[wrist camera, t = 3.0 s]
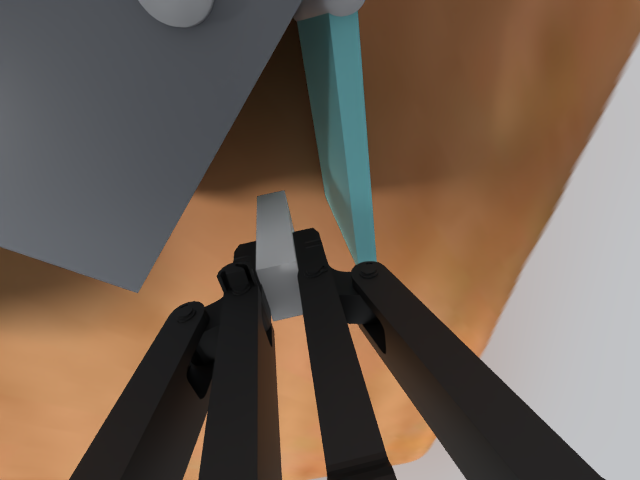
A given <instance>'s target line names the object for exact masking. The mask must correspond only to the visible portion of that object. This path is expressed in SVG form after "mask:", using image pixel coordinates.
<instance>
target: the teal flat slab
mask: <svg viewBox="0 0 640 480" xmlns="http://www.w3.org/2000/svg"><path fill="white" fill-rule="evenodd" d="M364 2H365V0H302V2H301V3H300V5H299V7H298V9H297V11H296V12H295V14H294V16H293V18H294V19H295V20H296V21H297V25H298V32H299V38H300V44H301V50H302V56H303V62H304V68H305V74H306V81H307V87H308V93H309V99H310V105H311V111H312V117H313V123H314V130H315V136H316V142H317V148H318V154H319V160H320V166H321V172H322V179H323V185H324V191H325V197H326V199H327V201H328V203H329V206H330V208H331V210H332V212H333V215H334V217H335V219H336V221H337V224H338V226H339V228H340V230H341V233H342V235H343V237H344V239H345V241H346V244H347V246H348V248H349V250H350V253H351V255H352V257H353V259H354V262H355V264H356V265H357V264H359V263H361V262H365V261H375V262H377V261H376V247H375V234H374V221H373V207H372V194H371V181H370V167H369V154H368V141H367V127H366V114H365V101H364V87H363V74H362V60H361V47H360V34H359V20H358V10H359V9H360V8H361V6H362V5H363V4H364Z"/></svg>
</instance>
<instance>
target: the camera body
mask: <svg viewBox="0 0 640 480" xmlns="http://www.w3.org/2000/svg"><path fill="white" fill-rule="evenodd" d="M301 2H302V0H0V247H2V248H5V249H8V250H11V251H14V252H17V253H20V254H23V255H26V256H29V257H32V258H35V259H38V260H41V261H44V262H47V263H50V264H53V265H56V266H59V267H62V268H65V269H68V270H71V271H74V272H76V273H79V274H82V275H85V276H88V277H91V278H94V279H97V280H100V281H103V282H106V283H109V284H112V285H115V286H118V287H121V288H124V289H127V290H130V291H133V292H136V293H138V292H139V290H140V288H141V287H142V285H143V283H144V281H145V279H146V278H147V276H148V274H149V272H150V271H151V269H152V267H153V265H154V263H155V262H156V260H157V258H158V256H159V255H160V253H161V251H162V249H163V247H164V246H165V244H166V242H167V240H168V238H169V237H170V235H171V233H172V231H173V230H174V228H175V226H176V224H177V222H178V221H179V219H180V217H181V215H182V214H183V212H184V210H185V208H186V206H187V205H188V203H189V201H190V199H191V198H192V196H193V194H194V192H195V190H196V189H197V187H198V185H199V183H200V182H201V180H202V178H203V176H204V174H205V173H206V171H207V169H208V167H209V165H210V164H211V162H212V160H213V158H214V157H215V155H216V153H217V151H218V149H219V148H220V146H221V144H222V142H223V141H224V139H225V137H226V135H227V133H228V132H229V130H230V128H231V126H232V125H233V123H234V121H235V119H236V117H237V116H238V114H239V112H240V110H241V109H242V107H243V105H244V103H245V101H246V100H247V98H248V96H249V94H250V92H251V91H252V89H253V87H254V85H255V84H256V82H257V80H258V78H259V76H260V75H261V73H262V71H263V69H264V68H265V66H266V64H267V62H268V60H269V59H270V57H271V55H272V53H273V52H274V50H275V48H276V46H277V44H278V43H279V41H280V39H281V37H282V35H283V34H284V32H285V30H286V28H287V27H288V25H289V23H290V21H291V19H292V18H293V16H294V14H295V12H296V11H297V9H298V7H299V5H300V3H301Z"/></svg>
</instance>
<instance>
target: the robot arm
mask: <svg viewBox="0 0 640 480" xmlns="http://www.w3.org/2000/svg"><path fill="white" fill-rule="evenodd" d="M217 278H218V281H219V283H220V285H221V287H222V290H223V292H224V296H223V297H222V298H221V299H220V300H218V301H216V302H214V303H212V304H210V305H208V306H206V307H204V305H203V304H202V303H200V302H195V301H193V302H188V303H185V304H183V305H180V306H179V307H178V308H176V309H175V310H174V311H173V312H172V313H171V314H170V315H169V317H168V319H167V320H166V322H165V324H164V325H163V327H162V328H161V330H160V332H159V333H158V335H157V337H156V338H155V340H154V342H153V343H152V345H151V346H150V348H149V350H148V351H147V353H146V355H145V356H144V358H143V360H142V361H141V363H140V364H139V366H138V368H137V369H136V371H135V373H134V374H133V376H132V378H131V379H130V381H129V382H128V384H127V386H126V387H125V389H124V391H123V392H122V394H121V396H120V397H119V399H118V400H117V402H116V404H115V405H114V407H113V409H112V410H111V412H110V414H109V415H108V417H107V418H106V420H105V422H104V423H103V425H102V427H101V428H100V430H99V432H98V433H97V435H96V436H95V438H94V440H93V441H92V443H91V445H90V446H89V448H88V450H87V451H86V453H85V454H84V456H83V458H82V459H81V461H80V463H79V464H78V466H77V468H76V469H75V471H74V472H73V474H72V476H71V477H70V479H69V480H183V477H184V474H185V472H186V469H187V466H188V463H189V461H190V458H191V455H192V452H193V450H194V447H195V444H196V442H197V439H198V436H199V433H200V431H201V428H202V425H203V422H204V420H205V417H206V414H207V421H206V428H205V435H204V443H203V450H202V457H201V465H200V472H199V480H282V472H281V453H280V434H279V415H278V396H277V376H276V357H275V338H274V329H273V326H272V323H271V316H272V319H273V321H277V320H281V319H286V318H290V317H294V316H299V315H303V317H304V324H305V330H306V337H307V344H308V350H309V357H310V363H311V370H312V377H313V383H314V390H315V397H316V403H317V410H318V416H319V423H320V430H321V436H322V443H323V449H324V456H325V463H326V470H327V480H397V479H396V476H395V473H394V470H393V468H392V465H391V464H390V462H389V460H388V457H387V454H386V451H385V448H384V444H383V441H382V438H381V434H380V431H379V428H378V424H377V421H376V418H375V414H374V411H373V408H372V404H371V401H370V398H369V394H368V391H367V388H366V384H365V381H364V378H363V374H362V371H361V368H360V364H359V361H358V358H357V354H356V351H355V348H354V344H353V341H352V338H351V334H350V331H349V328H348V324H347V323H349V324H358V325H359V328H360V329H361V330H362V332H363V333H364V335H365V336H366V338H367V339H368V340H369V342H370V343H371V345H372V346H373V347H374V349H375V350H376V352H377V353H378V355H379V356H380V357H381V359H382V360H383V362H384V363H385V364H386V366H387V367H388V369H389V370H390V372H391V373H392V374H393V376H394V377H395V379H396V380H397V381H398V383H399V384H400V386H401V387H402V389H403V390H404V391H405V393H406V394H407V396H408V397H409V398H410V400H411V401H412V403H413V404H414V406H415V407H416V408H417V410H418V411H419V413H420V414H421V415H422V417H423V418H424V420H425V421H426V423H427V424H428V425H429V427H430V428H431V430H432V431H433V433H434V434H435V435H436V437H437V438H438V440H439V441H440V442H441V444H442V445H443V447H444V448H445V450H446V451H447V452H448V454H449V455H450V457H451V458H452V459H453V461H454V462H455V464H456V465H457V466H458V468H459V469H460V471H461V472H462V474H463V475H464V476H465V478H466V479H467V480H605V479H604V478H602V477H601V476H600V475H599V474H598V473H597V472H596V471H594V469H592V468H591V467H590V466H589V465H588V464H587V463H586V462H585V461H584V460H583V459H582V458H581V457H580V456H579V455H578V454H577V453H576V452H575V451H574V450H573V449H572V448H571V447H570V446H569V445H568V444H567V443H566V442H565V441H563V439H562V438H561V437H560V436H559V435H558V434H556V432H554V431H553V430H552V429H551V428H550V427H549V426H548V425H547V424H546V423H545V422H544V421H543V420H542V419H541V418H540V417H539V416H538V415H537V414H536V413H535V412H534V411H533V410H532V409H531V408H530V407H529V406H528V405H527V404H526V403H525V402H524V401H523V400H522V399H521V398H520V397H519V396H517V395H516V394H515V393H514V392H513V391H512V390H511V389H510V388H509V387H508V386H507V385H506V384H505V383H504V382H503V381H502V380H501V379H500V378H499V377H498V376H497V375H496V374H495V373H494V372H493V371H492V370H491V369H490V368H488V367H487V365H486V364H485V363H484V362H483V361H482V360H480V359H479V358H478V357H477V356H476V355H475V354H474V353H473V352H472V351H471V350H470V349H469V348H468V347H467V346H466V345H465V344H464V343H463V342H462V341H461V340H460V339H459V338H458V337H457V336H456V335H455V334H454V333H453V332H452V331H451V330H450V329H449V328H448V327H447V326H446V325H445V324H444V323H443V322H441V321H440V320H439V319H438V318H437V317H436V316H435V315H434V314H433V313H432V312H431V311H430V310H429V309H428V308H427V307H426V306H425V305H424V304H423V303H422V302H421V301H420V300H419V299H418V298H417V297H416V296H415V295H414V294H413V293H412V292H411V291H410V290H409V289H408V288H407V287H406V286H404V285H403V284H402V283H401V282H400V281H399V280H398V279H397V278H396V277H395V276H394V275H393V274H392V273H391V272H390V271H389V270H388V269H387V268H386V267H385V266H384V265H382V264H381V263H379V262H375V261H365V262H361V263H359V264H357V265H355V266H354V268H353V269H352V271H351V272H341V271H337V270H334V269H332V268H331V267H330V266H329V264H328V262H327V259H326V255H325V252H324V249H323V245H322V242H321V239H320V235H319V232H317V231H316V230H315V229H314V228H310V229H305V230H301V231H296V232H294V228H293V224H292V220H291V215H290V211H289V207H288V203H287V199H286V194H285V190H284V191H279V192H274V193H270V194H265V195H260V196H257V230H256V241H254V242H249V243H245V244H240V245H239V246H238V248H237V249H236V250H235V252H234V261H233V263H231V264H228V265H227V266H225V267H223V268H222V269H221V270H220V271H219V272H218V275H217ZM207 411H208V413H207Z"/></svg>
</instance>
